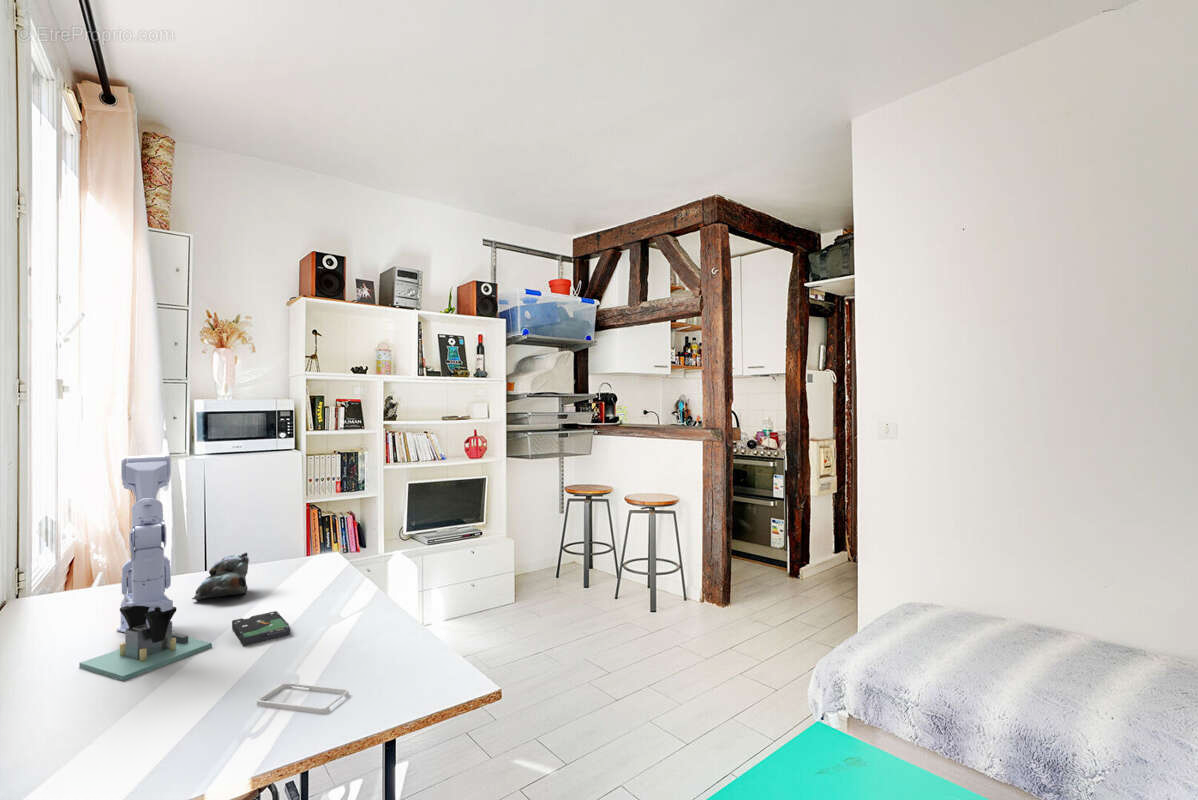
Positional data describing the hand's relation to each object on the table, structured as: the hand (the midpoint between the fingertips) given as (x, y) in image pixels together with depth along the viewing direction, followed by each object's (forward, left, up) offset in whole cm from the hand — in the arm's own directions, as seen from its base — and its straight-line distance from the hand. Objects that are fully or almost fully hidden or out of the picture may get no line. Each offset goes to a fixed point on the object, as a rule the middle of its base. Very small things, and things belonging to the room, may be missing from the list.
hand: (148, 638), depth 130 cm
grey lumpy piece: (-26, +34, -4) cm, 43 cm away
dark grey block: (0, 0, -3) cm, 3 cm away
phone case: (+49, 0, -5) cm, 49 cm away
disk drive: (+10, +20, -5) cm, 23 cm away
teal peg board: (0, 0, -4) cm, 4 cm away
